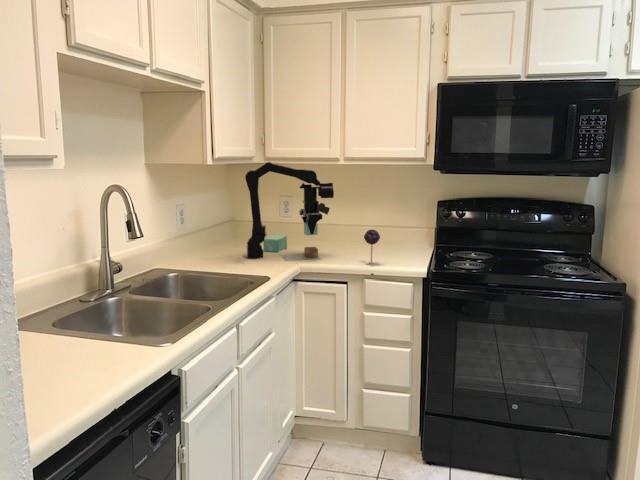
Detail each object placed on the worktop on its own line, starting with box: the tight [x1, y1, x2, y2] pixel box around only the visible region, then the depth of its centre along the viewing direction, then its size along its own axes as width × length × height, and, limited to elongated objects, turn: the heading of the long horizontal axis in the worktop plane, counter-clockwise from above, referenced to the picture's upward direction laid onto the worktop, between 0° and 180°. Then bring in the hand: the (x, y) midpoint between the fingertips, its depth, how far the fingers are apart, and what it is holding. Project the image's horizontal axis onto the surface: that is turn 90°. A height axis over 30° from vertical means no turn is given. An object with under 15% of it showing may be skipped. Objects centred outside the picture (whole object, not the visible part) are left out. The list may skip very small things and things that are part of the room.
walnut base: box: [304, 246, 319, 258], centre depth 241 cm, size 5×5×4 cm
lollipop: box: [363, 229, 381, 265], centre depth 231 cm, size 7×7×15 cm
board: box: [280, 253, 321, 262], centre depth 240 cm, size 16×12×1 cm
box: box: [262, 234, 288, 253], centre depth 257 cm, size 7×14×8 cm, turn 165°
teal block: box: [303, 222, 319, 236], centre depth 239 cm, size 5×5×5 cm
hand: (310, 233), depth 239 cm, fingers closed on teal block, 5 cm apart
